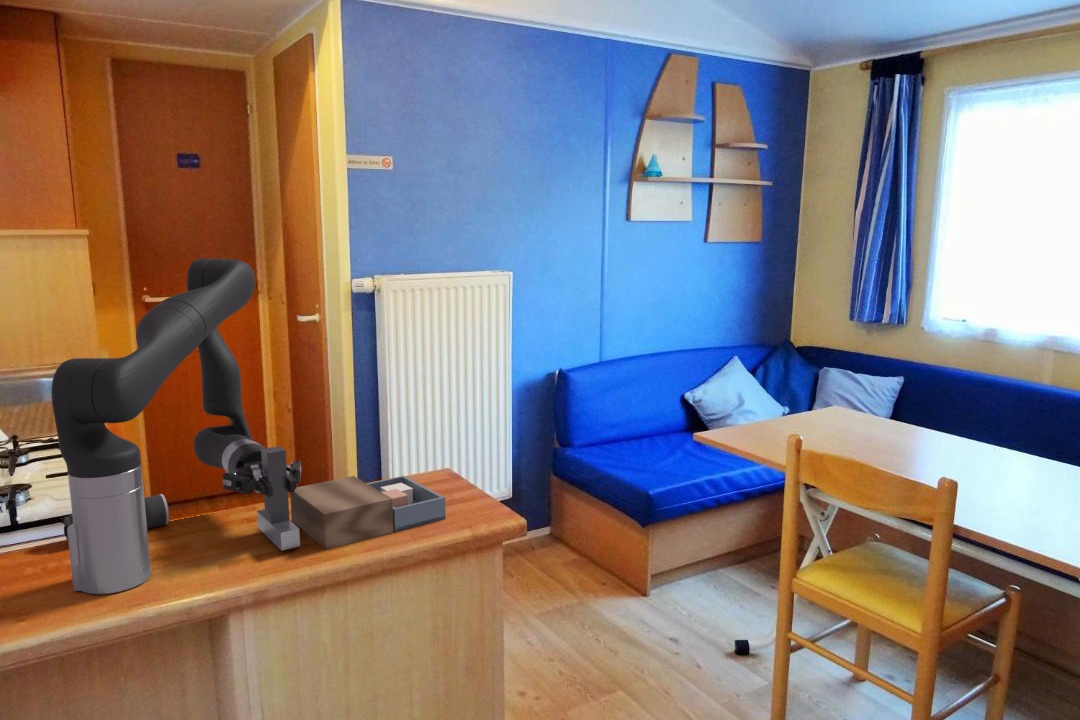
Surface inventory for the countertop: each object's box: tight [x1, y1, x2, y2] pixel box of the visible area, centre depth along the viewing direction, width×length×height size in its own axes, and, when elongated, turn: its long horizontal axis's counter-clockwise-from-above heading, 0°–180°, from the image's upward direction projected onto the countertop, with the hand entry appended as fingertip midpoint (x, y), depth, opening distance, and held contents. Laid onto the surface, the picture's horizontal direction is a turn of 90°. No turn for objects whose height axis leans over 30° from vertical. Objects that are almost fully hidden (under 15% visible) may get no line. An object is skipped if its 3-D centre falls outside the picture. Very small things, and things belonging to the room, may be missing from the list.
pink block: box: [382, 489, 408, 508], centre depth 135 cm, size 4×4×3 cm
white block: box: [381, 483, 413, 505], centre depth 142 cm, size 4×4×3 cm
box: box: [367, 475, 447, 532], centre depth 139 cm, size 10×16×4 cm, turn 37°
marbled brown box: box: [289, 475, 395, 550], centre depth 132 cm, size 12×16×6 cm
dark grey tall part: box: [256, 445, 301, 551], centre depth 125 cm, size 3×12×15 cm, turn 37°
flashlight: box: [63, 493, 170, 545], centre depth 130 cm, size 15×5×5 cm, turn 131°
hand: (281, 488), depth 122 cm, fingers closed on dark grey tall part, 3 cm apart
